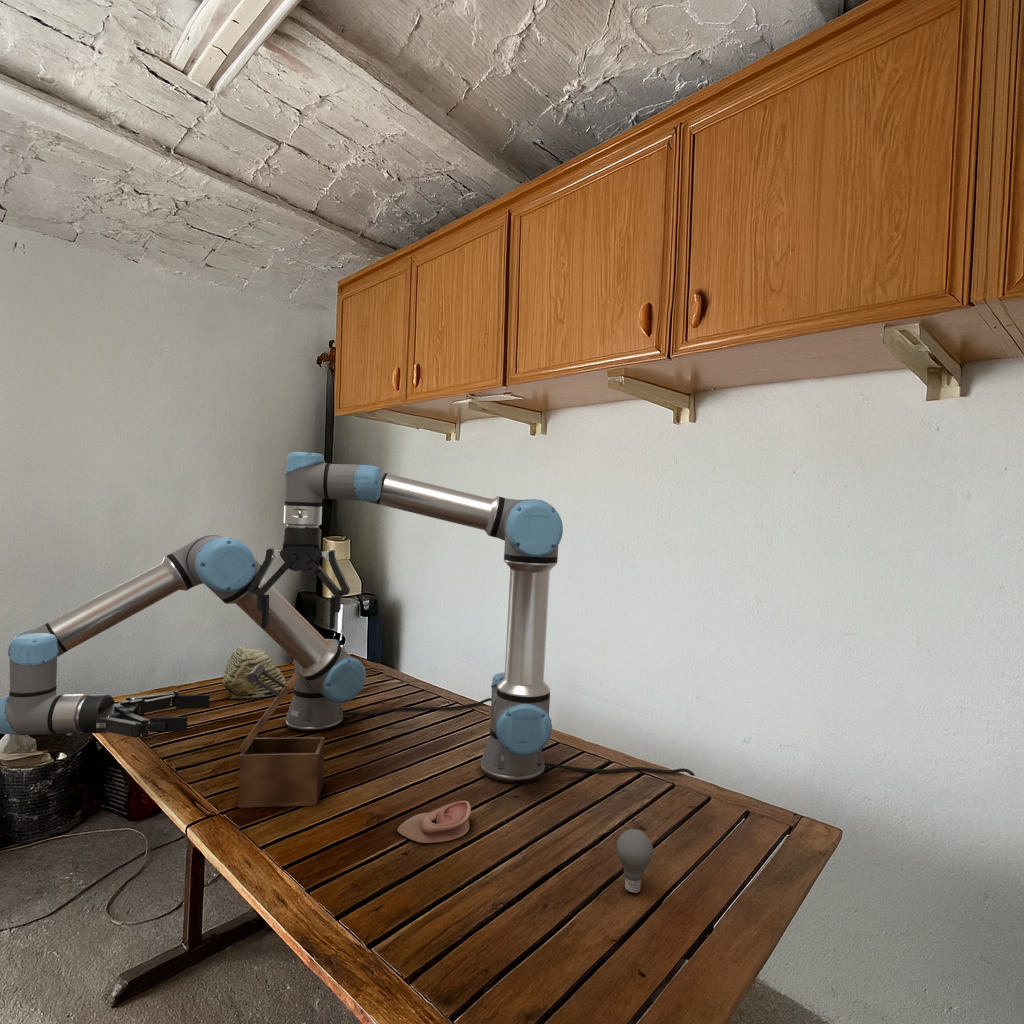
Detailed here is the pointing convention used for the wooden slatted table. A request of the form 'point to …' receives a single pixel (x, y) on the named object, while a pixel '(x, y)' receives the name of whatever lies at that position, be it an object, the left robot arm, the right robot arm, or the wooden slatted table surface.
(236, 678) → the fossil
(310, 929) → the wooden slatted table surface
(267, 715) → the lid
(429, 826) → the anatomical model
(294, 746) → the chest
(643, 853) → the light bulb
